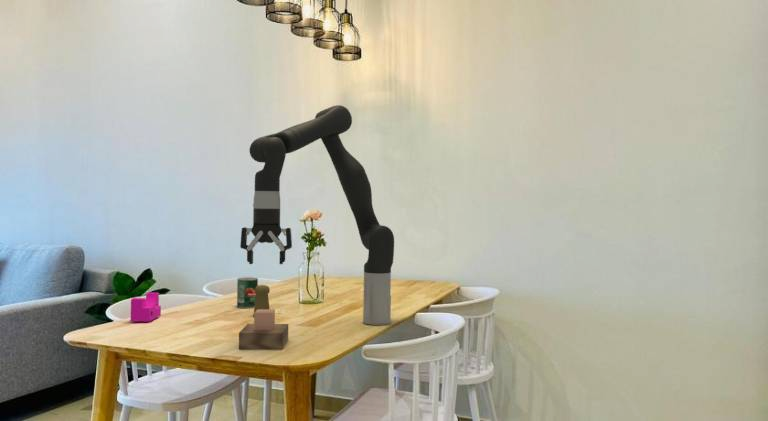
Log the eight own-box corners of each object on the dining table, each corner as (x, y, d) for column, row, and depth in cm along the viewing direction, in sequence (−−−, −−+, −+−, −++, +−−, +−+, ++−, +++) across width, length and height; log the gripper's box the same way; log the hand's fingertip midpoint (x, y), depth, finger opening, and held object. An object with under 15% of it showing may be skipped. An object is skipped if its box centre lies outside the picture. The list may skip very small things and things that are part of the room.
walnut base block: (288, 340, 165) (288, 323, 165) (282, 351, 153) (282, 332, 153) (247, 340, 165) (247, 323, 165) (238, 350, 153) (238, 332, 153)
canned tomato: (241, 304, 224) (241, 277, 224) (260, 305, 223) (260, 277, 223) (233, 307, 216) (234, 279, 216) (253, 308, 215) (254, 280, 215)
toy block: (149, 321, 189) (149, 299, 189) (130, 321, 188) (130, 299, 188) (165, 313, 204) (165, 292, 204) (148, 312, 203) (148, 292, 203)
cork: (249, 316, 199) (250, 285, 199) (259, 313, 205) (260, 283, 205) (264, 318, 197) (264, 287, 197) (273, 315, 202) (274, 284, 202)
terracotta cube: (274, 326, 161) (274, 309, 161) (272, 330, 156) (272, 312, 156) (257, 326, 161) (257, 309, 161) (254, 330, 156) (254, 312, 156)
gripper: (293, 207, 163) (292, 263, 163) (244, 207, 162) (243, 262, 162) (290, 207, 156) (289, 265, 156) (238, 207, 155) (238, 265, 155)
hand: (266, 263), depth 159 cm, fingers open, 8 cm apart
